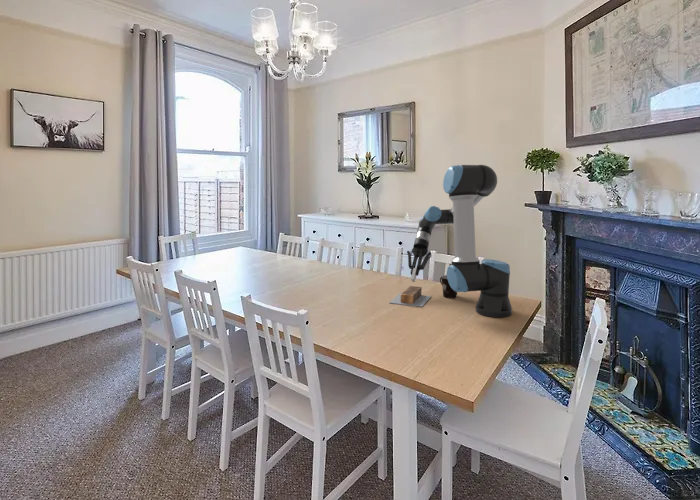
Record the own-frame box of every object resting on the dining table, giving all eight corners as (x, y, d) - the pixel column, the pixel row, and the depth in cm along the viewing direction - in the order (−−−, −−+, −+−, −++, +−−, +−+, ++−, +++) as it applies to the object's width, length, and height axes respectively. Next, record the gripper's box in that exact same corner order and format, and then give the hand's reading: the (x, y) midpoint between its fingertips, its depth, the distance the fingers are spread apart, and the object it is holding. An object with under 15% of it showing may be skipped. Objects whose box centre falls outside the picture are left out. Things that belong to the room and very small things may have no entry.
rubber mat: (430, 296, 203) (430, 296, 203) (422, 307, 187) (422, 306, 187) (400, 293, 210) (400, 292, 210) (389, 303, 194) (389, 302, 194)
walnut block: (421, 287, 205) (412, 295, 191) (421, 294, 206) (412, 303, 191) (410, 286, 207) (400, 294, 193) (410, 293, 208) (400, 302, 194)
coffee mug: (460, 298, 199) (461, 279, 197) (443, 299, 199) (443, 279, 197) (454, 292, 210) (455, 273, 209) (438, 292, 211) (438, 273, 209)
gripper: (435, 246, 212) (427, 285, 201) (411, 245, 218) (401, 283, 206) (433, 238, 207) (424, 277, 195) (408, 237, 212) (398, 275, 200)
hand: (412, 280), depth 200 cm, fingers closed
